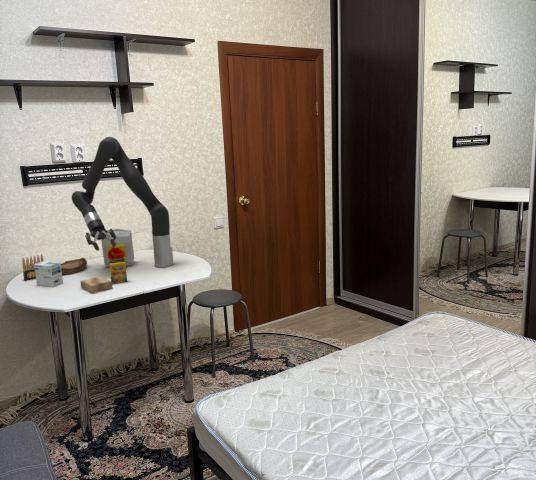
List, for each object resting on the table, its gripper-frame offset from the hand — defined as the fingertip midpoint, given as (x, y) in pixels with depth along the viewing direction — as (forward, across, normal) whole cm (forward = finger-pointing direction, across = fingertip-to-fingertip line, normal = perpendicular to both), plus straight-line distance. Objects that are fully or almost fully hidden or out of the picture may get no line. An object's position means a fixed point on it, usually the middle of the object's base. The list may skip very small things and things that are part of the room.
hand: (106, 248), depth 248 cm
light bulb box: (+2, -25, +20) cm, 32 cm away
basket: (-11, -9, +33) cm, 36 cm away
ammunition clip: (-9, -27, +31) cm, 42 cm away
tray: (+19, -12, +3) cm, 23 cm away
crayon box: (+18, 0, +4) cm, 19 cm away
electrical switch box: (-1, +14, +23) cm, 27 cm away
